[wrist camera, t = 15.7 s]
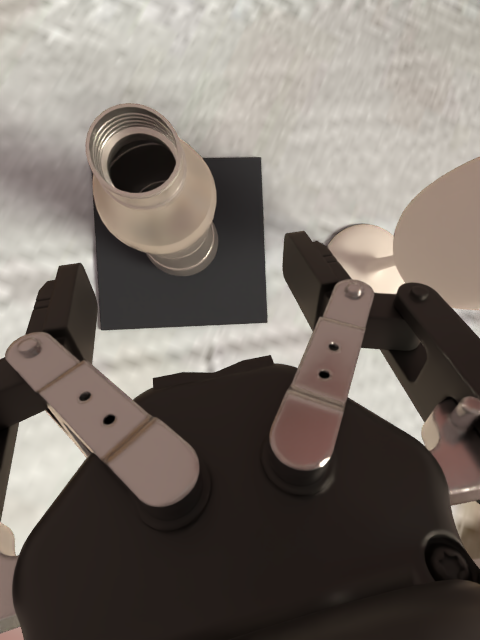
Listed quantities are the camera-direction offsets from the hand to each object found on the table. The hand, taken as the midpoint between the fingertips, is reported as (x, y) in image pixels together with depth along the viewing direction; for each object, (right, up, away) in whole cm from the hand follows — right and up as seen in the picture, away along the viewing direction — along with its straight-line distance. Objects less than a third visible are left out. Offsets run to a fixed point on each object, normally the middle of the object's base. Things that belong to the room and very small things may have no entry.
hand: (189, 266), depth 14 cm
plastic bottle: (-3, +5, +20) cm, 20 cm away
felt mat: (-4, +5, +20) cm, 21 cm away
